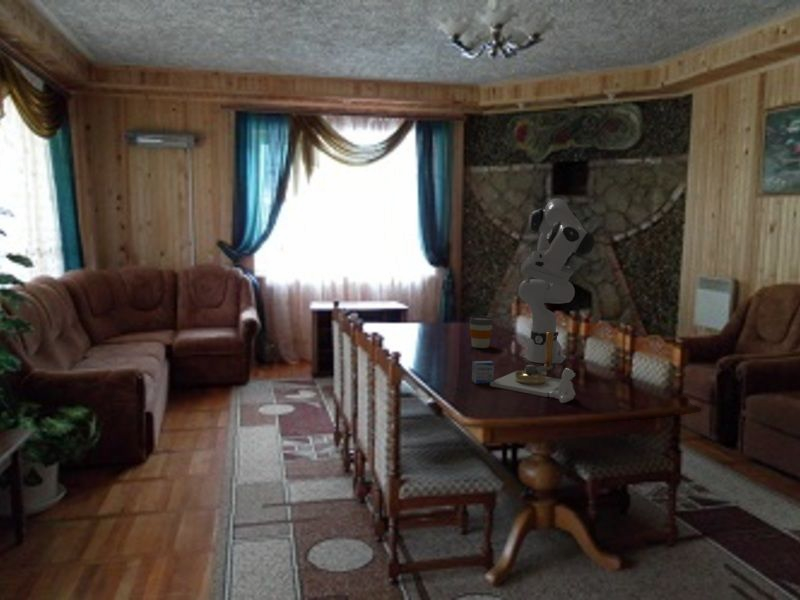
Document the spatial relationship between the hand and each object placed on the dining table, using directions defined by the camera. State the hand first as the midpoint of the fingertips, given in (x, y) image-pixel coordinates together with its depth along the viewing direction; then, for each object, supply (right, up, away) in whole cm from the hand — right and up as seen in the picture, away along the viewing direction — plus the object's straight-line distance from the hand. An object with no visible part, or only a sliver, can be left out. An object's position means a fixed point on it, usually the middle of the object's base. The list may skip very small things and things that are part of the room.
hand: (537, 285), depth 257 cm
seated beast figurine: (+4, -44, -27) cm, 51 cm away
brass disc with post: (-1, -39, -5) cm, 39 cm away
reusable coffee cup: (-15, -31, +68) cm, 76 cm away
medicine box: (-24, -40, -6) cm, 47 cm away
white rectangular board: (-5, -41, -8) cm, 42 cm away
